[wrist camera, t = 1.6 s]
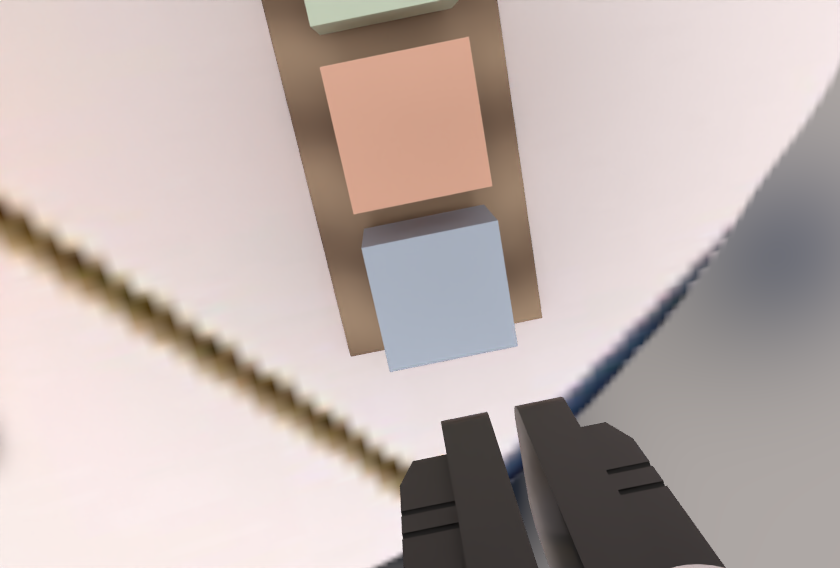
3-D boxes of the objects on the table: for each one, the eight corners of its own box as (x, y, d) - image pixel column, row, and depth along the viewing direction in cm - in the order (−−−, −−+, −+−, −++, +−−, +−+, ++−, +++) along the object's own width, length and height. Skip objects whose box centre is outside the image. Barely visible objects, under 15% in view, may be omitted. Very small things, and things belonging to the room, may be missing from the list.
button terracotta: (327, 70, 28) (319, 66, 24) (457, 43, 28) (469, 36, 24) (357, 199, 30) (353, 214, 26) (478, 174, 30) (492, 186, 26)
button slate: (364, 228, 30) (361, 248, 27) (483, 204, 30) (497, 220, 27) (389, 339, 32) (390, 372, 28) (502, 316, 32) (517, 346, 28)
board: (234, -120, 28) (218, -144, 26) (468, -168, 28) (478, -197, 26) (351, 349, 36) (348, 372, 33) (537, 311, 36) (551, 330, 33)
